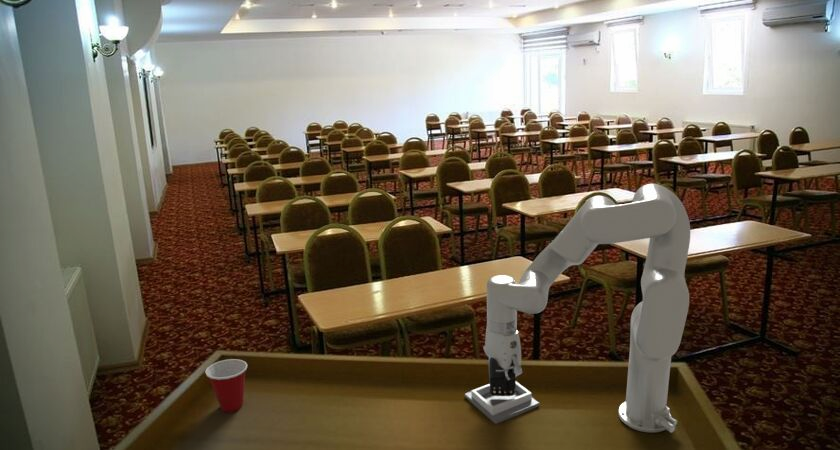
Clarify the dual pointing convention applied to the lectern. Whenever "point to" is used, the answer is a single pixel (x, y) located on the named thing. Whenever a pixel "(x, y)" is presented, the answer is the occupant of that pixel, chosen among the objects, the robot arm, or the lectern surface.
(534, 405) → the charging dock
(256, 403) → the lectern surface
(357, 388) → the lectern surface
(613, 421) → the lectern surface
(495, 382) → the battery charger
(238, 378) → the plastic cup
